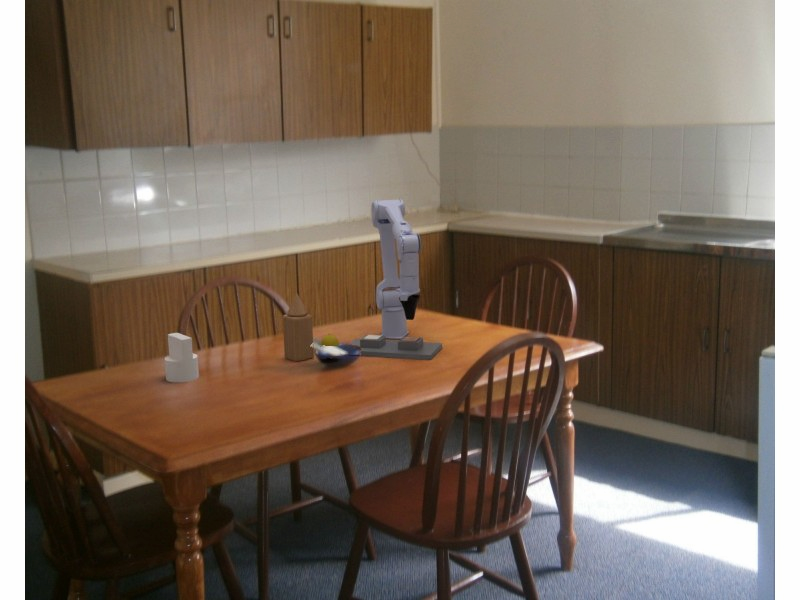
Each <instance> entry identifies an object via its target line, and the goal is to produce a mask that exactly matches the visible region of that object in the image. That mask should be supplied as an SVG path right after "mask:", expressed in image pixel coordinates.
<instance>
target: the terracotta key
mask: <svg viewBox="0 0 800 600" xmlns="http://www.w3.org/2000/svg"><path fill="white" fill-rule="evenodd" d="M420 337H421V336H418V337H417V336H405V338H404V339H402V341H407V342H417V341H418V340H419V339H420Z"/></svg>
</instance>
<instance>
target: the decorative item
mask: <svg viewBox="0 0 800 600" xmlns="http://www.w3.org/2000/svg"><path fill="white" fill-rule="evenodd" d="M308 312H309V311H308V310H307V309H306V306H305V305H304V303H303V301H302V300H301V298H300V297H299V294H298V292H296V293H295V295H294V296H293V299H292V301H291V304H290V306H289V308H288V310H287V313H286V314H284V315H282V330H283V331H282V333H283V349H284V350H283V351H284V353H283V354H284V358H285V359H288V360H290V361H294V362H301V361H305V360H309V359H313V358H314V355H315V354H314V353H315V352H314V347H313V348H312V347H310V345H311V344H312V343H313V344H314V333H313V332H314V330H313V316H312V315H311V314H308Z"/></svg>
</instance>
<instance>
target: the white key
mask: <svg viewBox="0 0 800 600" xmlns="http://www.w3.org/2000/svg"><path fill="white" fill-rule="evenodd" d="M367 335H368V336H366V337H365V338H364V339H369V340H379V339H380V338H381V337H382V336H379V334H367Z"/></svg>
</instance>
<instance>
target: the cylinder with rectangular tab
mask: <svg viewBox="0 0 800 600" xmlns="http://www.w3.org/2000/svg"><path fill="white" fill-rule="evenodd" d="M167 342H168V343H167V344H168V354H169V355H167V356H165V357H164V369H165V371H164V372H165V379H166V381H167V382H169V383H187V382H192V381H196V380H197V379H199V377H200V372H199V356H198V354H196V353H193V339H192V337H190V336H188V335H184V334H182V333H179V332H173V333H169V334H167Z"/></svg>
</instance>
